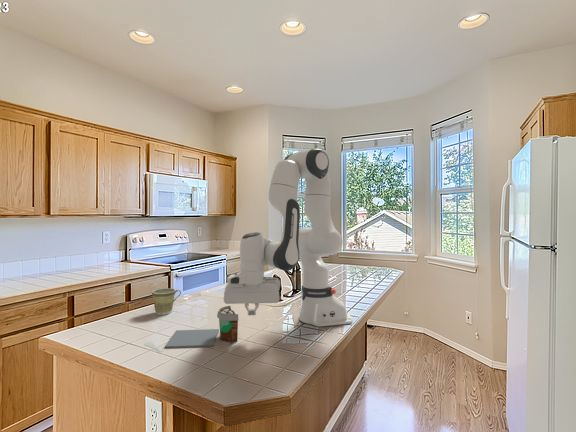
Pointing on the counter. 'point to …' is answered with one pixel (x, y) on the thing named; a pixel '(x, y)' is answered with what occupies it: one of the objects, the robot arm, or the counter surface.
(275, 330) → the counter surface
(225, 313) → the food container
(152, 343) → the butter knife
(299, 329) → the counter surface
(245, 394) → the counter surface
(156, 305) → the ceramic cup
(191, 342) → the mat
